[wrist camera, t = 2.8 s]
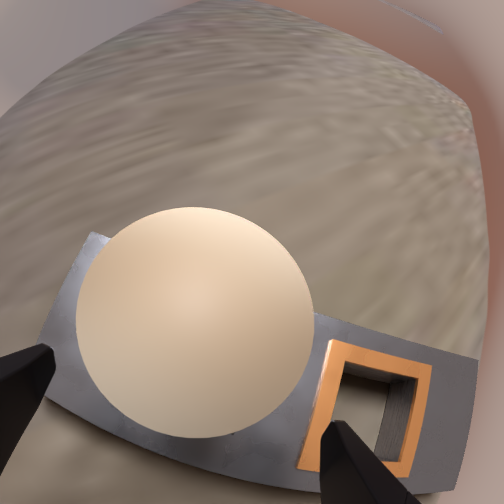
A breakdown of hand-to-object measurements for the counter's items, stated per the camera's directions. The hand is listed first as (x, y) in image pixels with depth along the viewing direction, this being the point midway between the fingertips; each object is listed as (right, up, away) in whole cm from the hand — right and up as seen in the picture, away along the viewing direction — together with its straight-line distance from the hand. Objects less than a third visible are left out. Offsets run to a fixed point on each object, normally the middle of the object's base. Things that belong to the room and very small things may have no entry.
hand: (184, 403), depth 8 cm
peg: (-1, -3, +9) cm, 10 cm away
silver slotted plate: (+4, -4, +9) cm, 11 cm away
